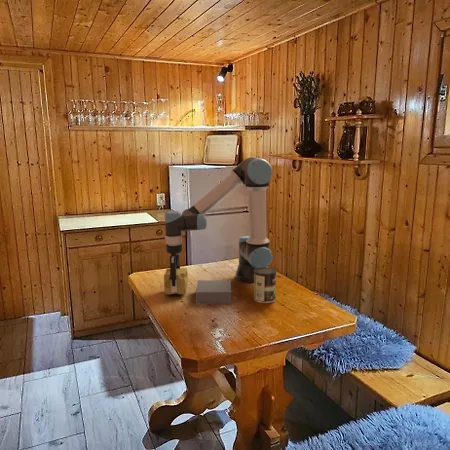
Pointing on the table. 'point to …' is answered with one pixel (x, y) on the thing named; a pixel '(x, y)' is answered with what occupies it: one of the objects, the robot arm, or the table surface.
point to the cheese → (181, 281)
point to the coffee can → (264, 285)
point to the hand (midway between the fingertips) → (175, 288)
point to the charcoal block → (213, 292)
